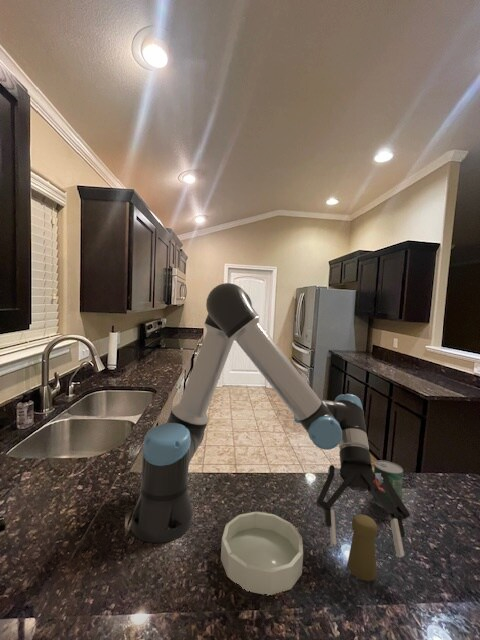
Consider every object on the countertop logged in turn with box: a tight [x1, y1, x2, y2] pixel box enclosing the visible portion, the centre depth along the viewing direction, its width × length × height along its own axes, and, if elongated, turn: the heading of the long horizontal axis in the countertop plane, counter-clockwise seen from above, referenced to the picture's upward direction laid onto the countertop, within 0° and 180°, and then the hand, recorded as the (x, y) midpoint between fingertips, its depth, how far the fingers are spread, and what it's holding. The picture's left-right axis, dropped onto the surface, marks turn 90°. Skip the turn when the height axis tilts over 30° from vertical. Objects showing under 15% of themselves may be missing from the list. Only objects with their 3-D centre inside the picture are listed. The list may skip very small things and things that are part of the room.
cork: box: [347, 514, 378, 582], centre depth 65 cm, size 6×6×11 cm
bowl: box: [220, 511, 304, 596], centre depth 66 cm, size 18×18×4 cm
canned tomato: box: [372, 459, 404, 509], centre depth 91 cm, size 8×8×11 cm
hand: (366, 551), depth 63 cm, fingers open, 13 cm apart
